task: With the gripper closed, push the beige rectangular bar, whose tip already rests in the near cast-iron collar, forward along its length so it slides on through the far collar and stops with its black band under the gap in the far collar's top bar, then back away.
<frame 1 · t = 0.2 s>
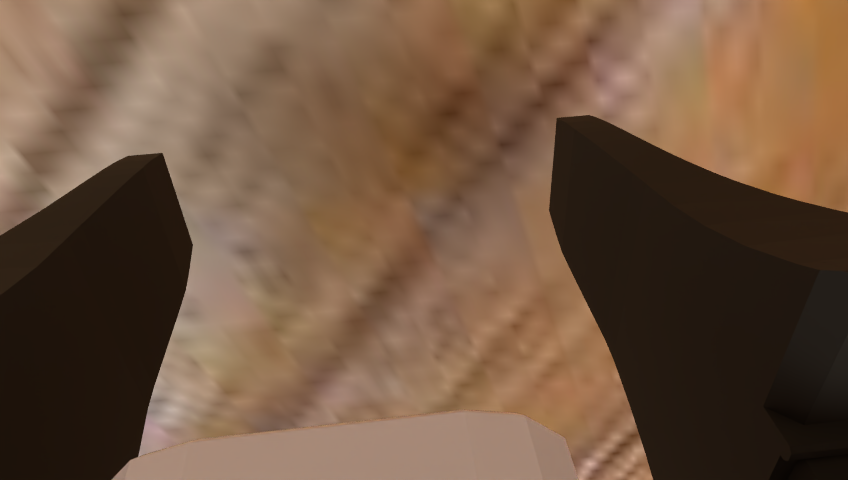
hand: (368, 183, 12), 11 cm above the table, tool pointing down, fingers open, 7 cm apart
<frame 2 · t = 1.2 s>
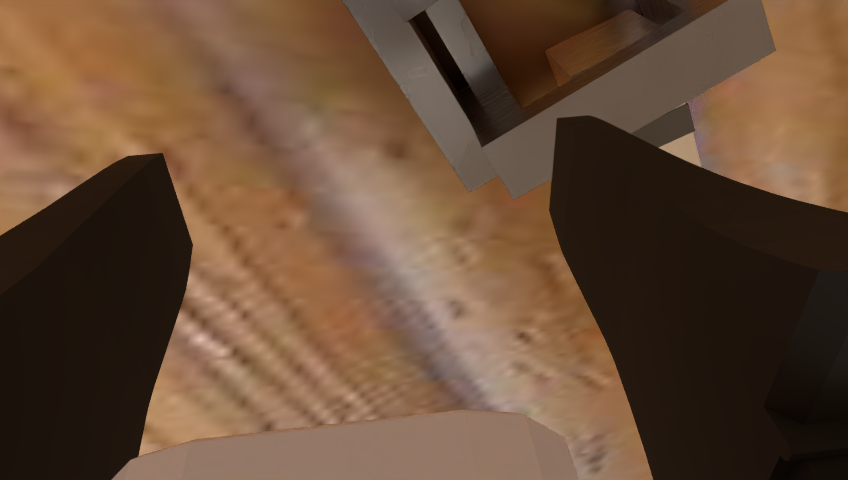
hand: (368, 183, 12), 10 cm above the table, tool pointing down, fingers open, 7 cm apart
beige rectangular bar: (630, 171, 24), on the table
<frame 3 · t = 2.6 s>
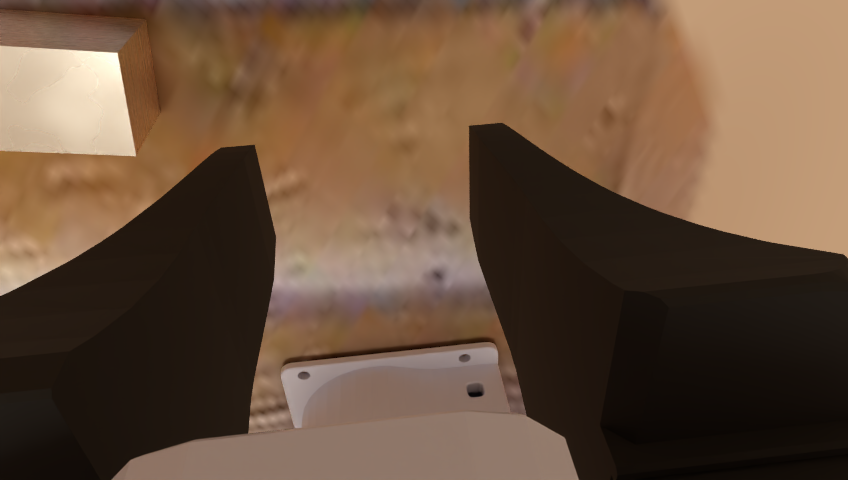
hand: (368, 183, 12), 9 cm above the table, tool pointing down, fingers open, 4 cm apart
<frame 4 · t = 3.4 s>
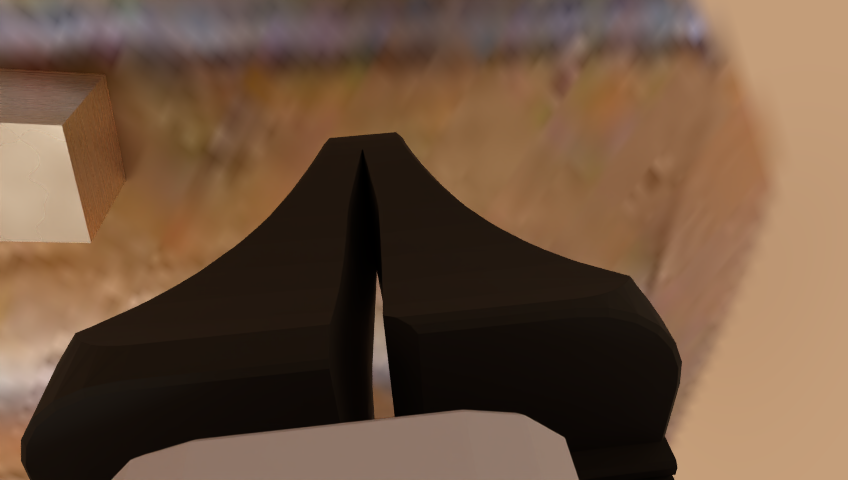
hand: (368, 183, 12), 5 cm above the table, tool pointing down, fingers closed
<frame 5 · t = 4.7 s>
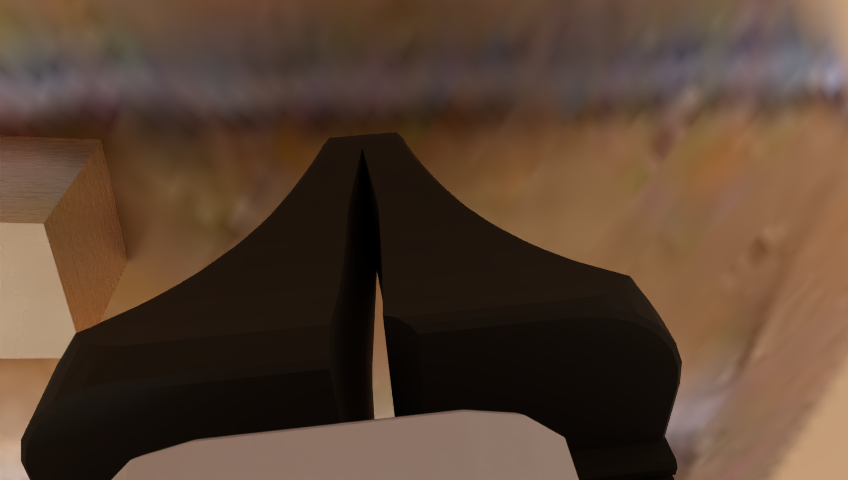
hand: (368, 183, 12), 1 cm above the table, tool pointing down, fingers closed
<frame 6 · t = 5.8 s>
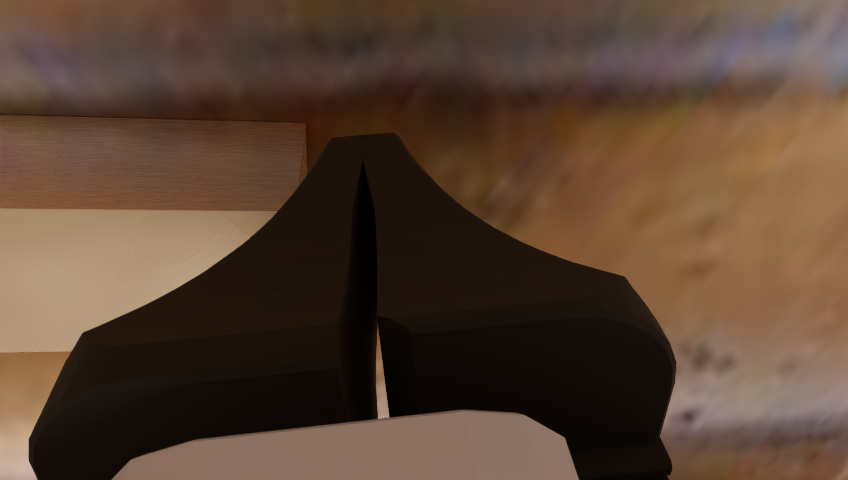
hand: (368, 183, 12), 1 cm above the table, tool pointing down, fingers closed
beige rectangular bar: (3, 183, 13), on the table, touching gripper
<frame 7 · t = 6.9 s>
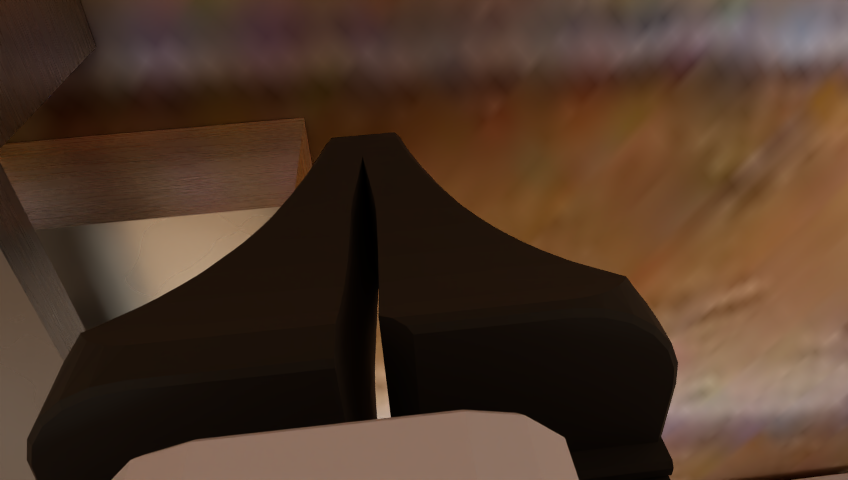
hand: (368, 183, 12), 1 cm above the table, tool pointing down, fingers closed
beige rectangular bar: (23, 209, 13), on the table, touching gripper
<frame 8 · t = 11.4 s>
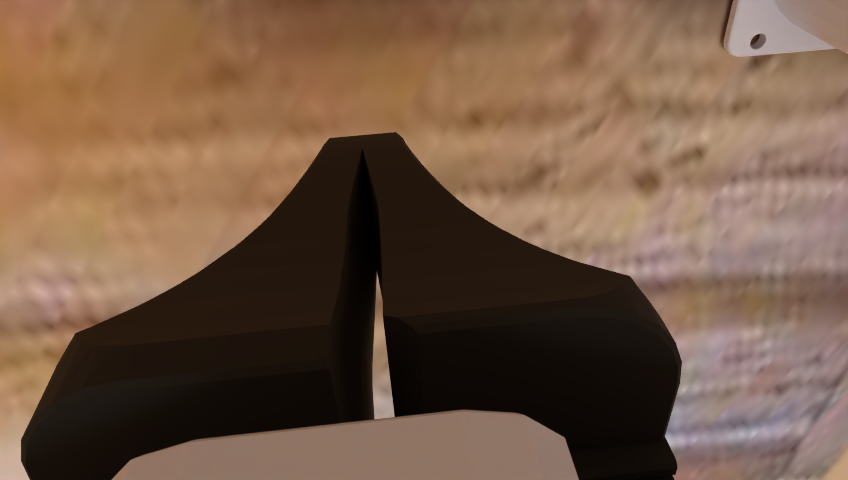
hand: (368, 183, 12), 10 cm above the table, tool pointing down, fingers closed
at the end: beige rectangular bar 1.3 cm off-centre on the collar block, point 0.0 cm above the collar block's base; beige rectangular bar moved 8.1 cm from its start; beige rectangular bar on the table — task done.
